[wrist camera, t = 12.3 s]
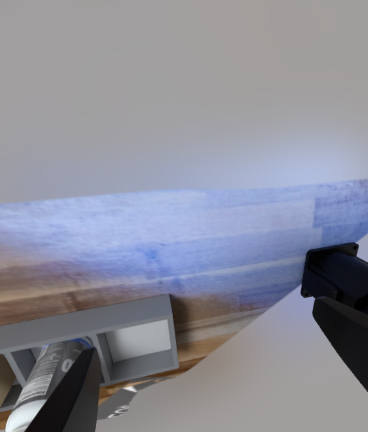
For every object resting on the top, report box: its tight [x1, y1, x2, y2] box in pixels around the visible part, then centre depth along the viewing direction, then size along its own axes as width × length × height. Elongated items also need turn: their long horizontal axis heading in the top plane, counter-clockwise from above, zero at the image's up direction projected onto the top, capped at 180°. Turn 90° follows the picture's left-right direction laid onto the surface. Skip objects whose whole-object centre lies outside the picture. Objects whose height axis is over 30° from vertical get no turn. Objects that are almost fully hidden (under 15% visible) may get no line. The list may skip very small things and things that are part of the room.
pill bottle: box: [6, 337, 93, 432], centre depth 17 cm, size 5×5×8 cm
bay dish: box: [0, 294, 179, 412], centre depth 20 cm, size 22×8×3 cm, turn 94°
